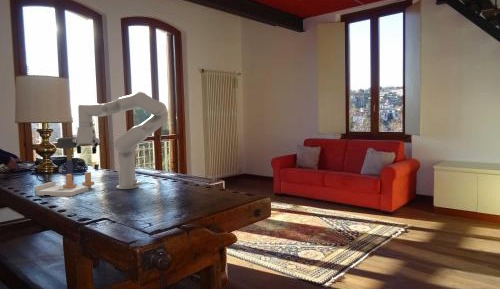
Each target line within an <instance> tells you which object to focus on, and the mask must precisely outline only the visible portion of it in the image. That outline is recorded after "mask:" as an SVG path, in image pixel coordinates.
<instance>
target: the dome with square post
mask: <svg viewBox="0 0 500 289" xmlns="http://www.w3.org/2000/svg"><path fill="white" fill-rule="evenodd" d="M94 185H95V181H92V172H91V171H90V172H89V171H85V172H84V181H83V182H81V186H88V190H90V189H92V186H94Z"/></svg>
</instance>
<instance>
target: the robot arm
mask: <svg viewBox="0 0 500 289" xmlns="http://www.w3.org/2000/svg"><path fill="white" fill-rule="evenodd" d="M77 106H78V107H77V108H78V111H77V112H78V113H77V114H78V127H77V131H76V136H75V137H76V138H74V139H73V140H72V141H73V143H74V144H75V146H76V154H78V155H79V154H82V145H91V146H92V148H91V152H92V153H91V154H93V155H95V154H97V147H98V146H99V144H100V142H101V139H99V138H98V137H97V136H96V130H95V127H94V126H95V123H94V122H93V121H94V120H93V117H96V118H97V117H100V118H101V117H106V116H110V115H114V114H117V113H124V112H127V111H130V110H135V109H142V110H144V111H145V112H147V113H149V114H151V116H149V118H147V119H146V120H144V121H143V122H142V123H140V124H138V125H134V126H133V127H131V128H130V129H128V130H127V131H126V132H125V133H123V134H121V135H120V136H119V137H118V138H116V139H115V141H114V148H115V150H116V151H117V152H118V155H117V156H118V157H117V158H118V161H117V162H118V165H117V166H118V185H116V189H118V190H130V189H136V188H138V187H139V186H141V185H142V181H141V180H140V181H138V179H136V158H135V157H136V155H135V154H136V146H137V145H139V144H140V143H142V142H144V141H145V140H146V139H147V138H148V137H149V136H151V135H152V134H154V133H155V132H156V131H157V130H158V129H160V128H161V127H162V126H163V125H164V124H165V122H166V121H167V118H168V108H167V105H166V104H165V103H164V102H162V101H159V100H157V99H155V98H153V97H151V96H150V95H147V94H146V93H145V92H143V91H137V92H135V93H133V94H129V95H125V96H122V97H121V96H120V97H118V98H117V99H115V100H113V101H109V102H105V103H91V104H88V103H80V104H79V105H77ZM76 140H77V142H76Z"/></svg>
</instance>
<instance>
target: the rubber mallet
mask: <svg viewBox="0 0 500 289" xmlns="http://www.w3.org/2000/svg"><path fill="white" fill-rule="evenodd" d="M76 137H77V136H66V137H59V138H58V139H57V142H56V145H57V147H58V149H60V150H61V149H66V173H67V174H72V181H73V182H74V174H73V173H74V165H73V159H72V149H74V148H75V149H77V147H76V146H75V144H74V143H73V141H72V140H73V139H74V138H76ZM76 142H77V140H76ZM67 174H66V175H67Z"/></svg>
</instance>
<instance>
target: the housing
mask: <svg viewBox="0 0 500 289" xmlns="http://www.w3.org/2000/svg"><path fill="white" fill-rule="evenodd" d="M73 182H74V180H73V181H72V174H65V184H62V185H60V184H59V185H57V184H56V180H53V181H49V182H45V183H42V184H38V185H35V186H34V196H44V195H50V197H51V196H53V197H73V196H74V197H75V196H77V195H79V194H81V193H85V192H88V191H89V189H88V186H82V185H77V184H76V183H73ZM76 194H77V195H76Z"/></svg>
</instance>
